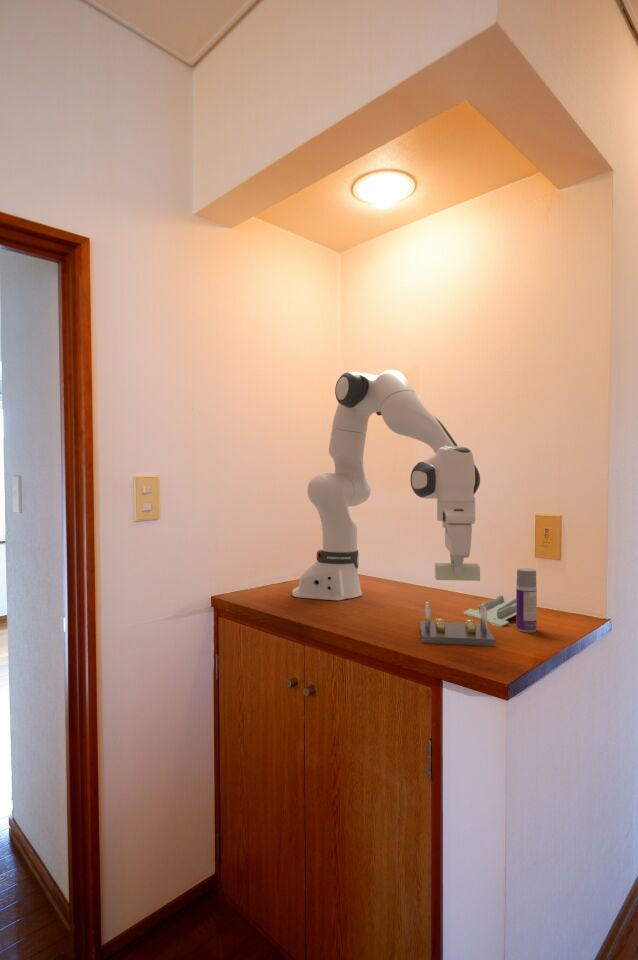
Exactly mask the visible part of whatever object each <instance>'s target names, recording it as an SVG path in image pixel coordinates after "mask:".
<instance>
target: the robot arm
mask: <svg viewBox="0 0 638 960" xmlns="http://www.w3.org/2000/svg"><path fill="white" fill-rule="evenodd" d="M334 394H335V398H336V401H337V402H338V404H337V406H336V410H335V413H334V416H333V417H334V418H333V421H332V426H331V434H330V439H329V444H328V445H329V447H328V453H329V456H330V457H331V458H332V460H333V463H334V472H333V473H332V472H329V473H328V472H327V473H323V474H322V473H321V474H319V475H317V476H314V477H312V479H310V481H309V483H308V485H307V491H306V492H307V497H308V500H309V501H310V503H311V504H313V506H314V507H315V508H316V510H317V513H318V515H319V518H320V522H321V529H322V549H318V550H317V551H316V562H315V563H314V564H312V565H311V566H309V567H308V568H307V569H306V570H305V571H303V573H302V574H301V576H300V577H299V582H298V586H297V587H294V588H293V589H292V590H291V595H292V596H293V597H295V598H301V599H302V598H303V599H315V600H328V601H329V600H330V601H343V600H345V599H353V598H358V597H360V596H362V595H363V592H362V589H361V584H360V578H359V569H358V568H359V566H360V559H359V558H360V554H359V550H358V527H357V524H356V523H355V522H354V521H353V519H352V518H351V516H350V513H349V507H356V506H358V505H360V504H363V503H364V502H366V501H368V499H369V497H370V496H371V489H372V488H371V484H370V482H369V481H368V478H367V477H366V473H365V465H364V451H365V445H366V439H367V431H368V423H369V418H370V417H371V416H372V415H373V414H376V415H377V416H381V417H382V419H383V421H384V424H386V426H387V427H388V428H389V430H391V431H392V432H394V433H395V434H398V435H400V436H404V437H406V438H407V437H408V438H411V439H415V440H417V441H420V442H422V443H424V444H426V445H428V447H430V448H431V449H432V450H433V452H434V453H435V454H434V455H433V456H431V457H430V458H428V459H426V460H424V461H423V460H422V461H420V462H417V463H416V464H415V466H413V469H412V470H411V473H410V478H409V479H410V486H411V489H412V490H413V491H412V492H413V493H414V494H415V495H416V496H417V497H419V498H422V499H426V500H429V499H431V500H432V499H433V500H434V499H436V502H437V503H436V514H437V515H436V520H437V521H438V522H442V528H443V529H444V546H445V548H446V549H447V550H448V552H449V557H450V563H454V573H455V574H456V575H461V574H462V566H463V563H464V561H465V560H464V559H467V558H469V557H470V555H471V554H470V553H471V550H472V549H471V546H472V534H473V532H472V531H473V524H475V523H476V498H475V494H476V493H477V491H478V489H479V487H480V483H481V475H480V472H479V470H478V468H477V466H476V464H475V460H474V456H473V453H472V450H471V449H470V448H468V447H465V446H460V445H459V446H458V444H457V443H456V441H455V440H454V438H453V436H451V434H450V432H449V431H448V430H447V429H446V427H445V426H444V425H443V423H442V422H441V421H440V420H439V419H438V418H437V417H436V416H434V415H433V414H432V413H431V412H430V411H429V410H428V409H427V408H426V407H425V406H424V404H423V403H422V401H421V400H420V399H419V397H418V395H417V394H416V391H415V389H414V388H413V386H412V384H411V383H410V381H408V379H407V378H406V377H405V375H404V374H403V373H401V372H400V371H398V370H396V369H395V370H393V369H389V370H385V371H383V372H381V373H380V374H379V375H378V374H373V373H372V374H371V373H360V372H358V371H349V372H348V371H347V372H345V373H343V374H341V375H340V377H339V378H338V379H337V381H336V383H335V388H334Z"/></svg>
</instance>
